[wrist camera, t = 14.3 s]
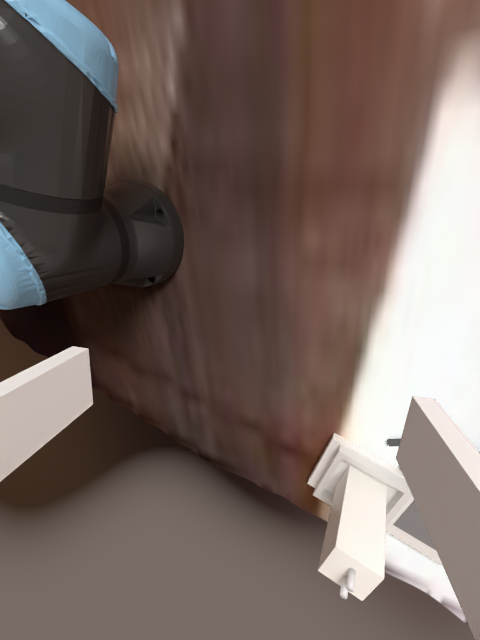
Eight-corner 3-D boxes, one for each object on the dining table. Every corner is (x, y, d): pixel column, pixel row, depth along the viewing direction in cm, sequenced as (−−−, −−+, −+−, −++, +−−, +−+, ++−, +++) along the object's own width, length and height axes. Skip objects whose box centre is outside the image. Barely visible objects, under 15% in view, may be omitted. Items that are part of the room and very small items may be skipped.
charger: (335, 486, 44) (313, 588, 32) (349, 463, 41) (332, 564, 30) (369, 507, 42) (359, 621, 30) (386, 484, 40) (383, 598, 28)
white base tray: (309, 477, 47) (304, 491, 44) (334, 432, 42) (330, 445, 40) (446, 560, 41) (450, 580, 38) (493, 518, 36) (499, 538, 34)
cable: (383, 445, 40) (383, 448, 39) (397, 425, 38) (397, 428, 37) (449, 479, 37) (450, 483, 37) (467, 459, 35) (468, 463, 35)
